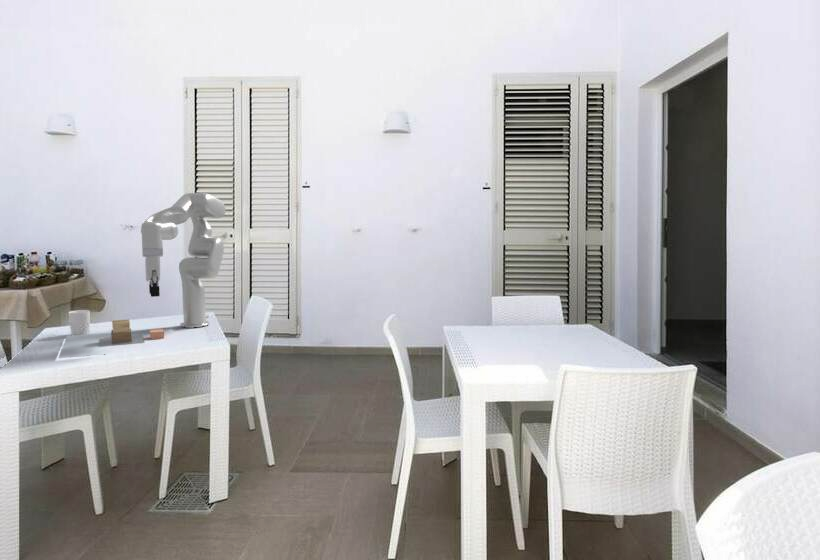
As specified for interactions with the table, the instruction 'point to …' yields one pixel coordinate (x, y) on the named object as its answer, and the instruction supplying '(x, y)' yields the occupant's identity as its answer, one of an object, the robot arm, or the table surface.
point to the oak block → (121, 326)
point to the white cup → (79, 322)
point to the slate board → (108, 342)
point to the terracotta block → (157, 334)
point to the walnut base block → (121, 337)
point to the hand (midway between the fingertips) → (154, 294)
